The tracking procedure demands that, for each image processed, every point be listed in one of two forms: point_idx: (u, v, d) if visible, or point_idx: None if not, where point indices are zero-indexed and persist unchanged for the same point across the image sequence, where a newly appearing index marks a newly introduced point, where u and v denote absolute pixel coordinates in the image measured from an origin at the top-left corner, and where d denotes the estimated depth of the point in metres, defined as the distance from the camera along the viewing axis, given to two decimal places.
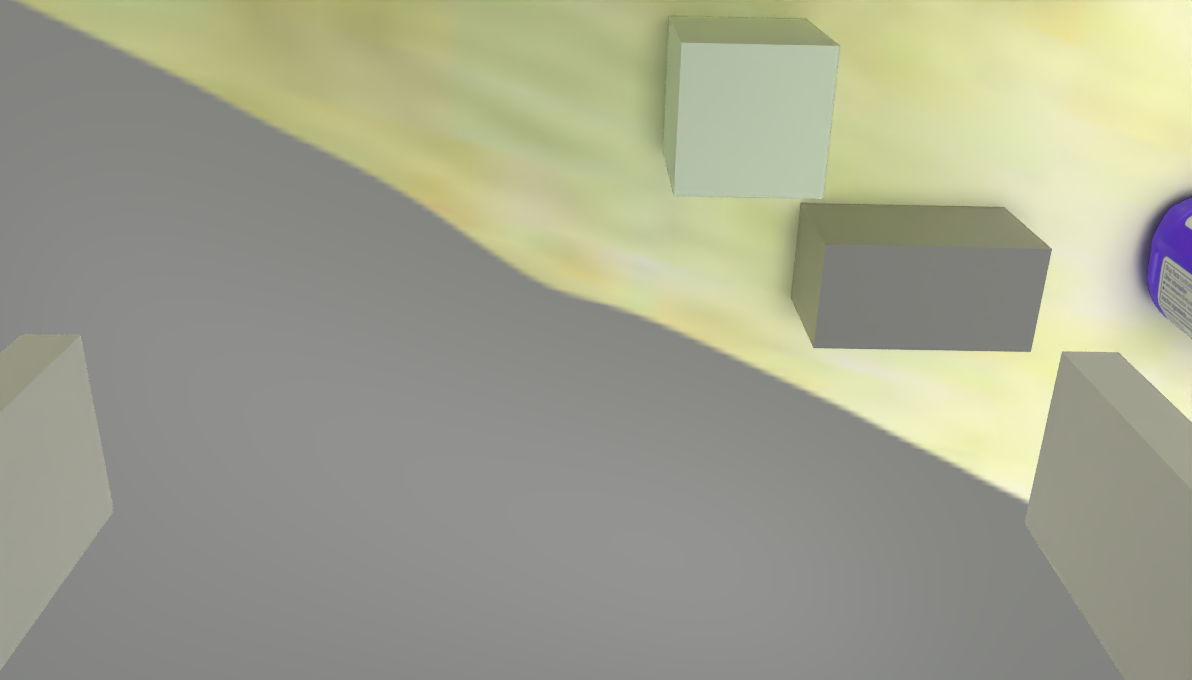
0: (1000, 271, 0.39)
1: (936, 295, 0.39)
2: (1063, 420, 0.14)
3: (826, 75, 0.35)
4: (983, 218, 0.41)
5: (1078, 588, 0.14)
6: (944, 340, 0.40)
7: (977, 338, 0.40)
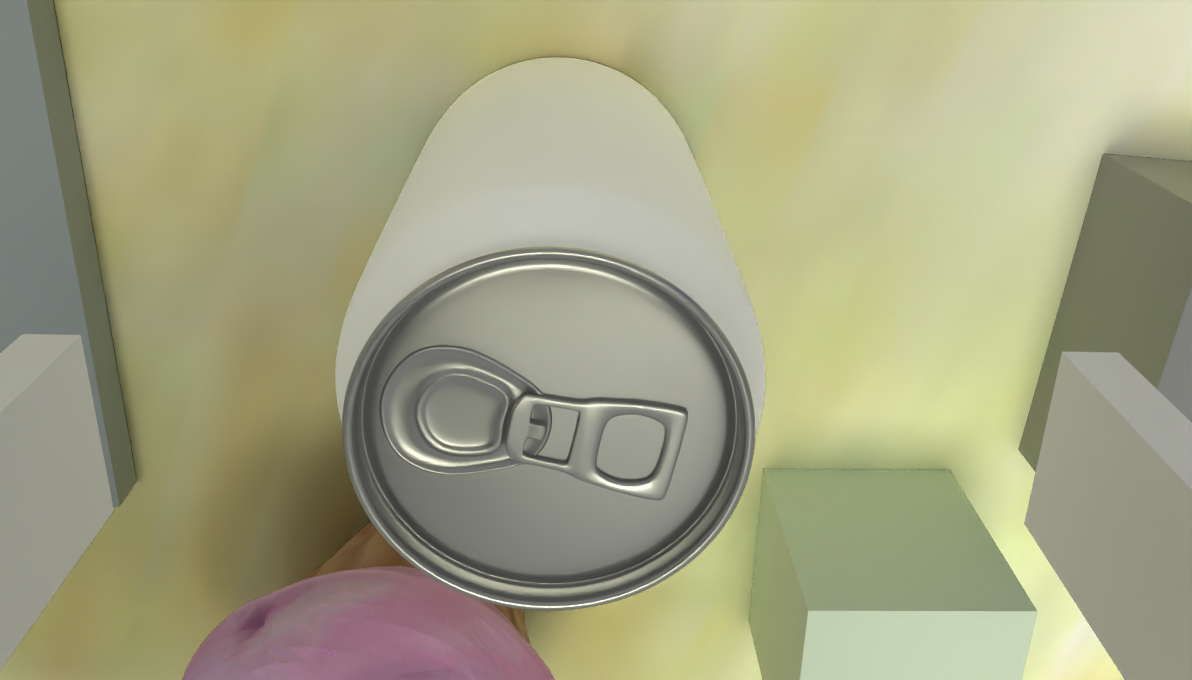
0: None
1: None
2: (1062, 420, 0.14)
3: (849, 622, 0.24)
4: (1116, 226, 0.25)
5: (1078, 588, 0.14)
6: None
7: None
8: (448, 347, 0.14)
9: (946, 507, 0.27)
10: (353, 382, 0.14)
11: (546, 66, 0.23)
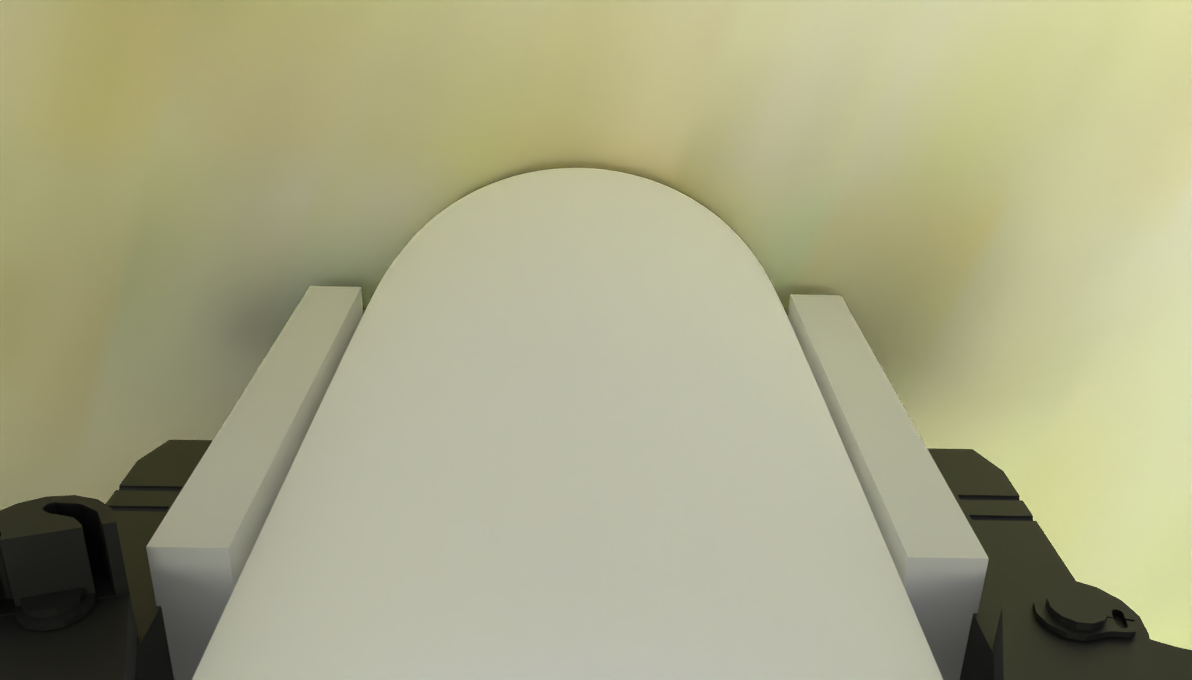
0: None
1: None
2: None
3: None
4: None
5: None
6: None
7: None
8: None
9: None
10: None
11: (559, 192, 0.14)
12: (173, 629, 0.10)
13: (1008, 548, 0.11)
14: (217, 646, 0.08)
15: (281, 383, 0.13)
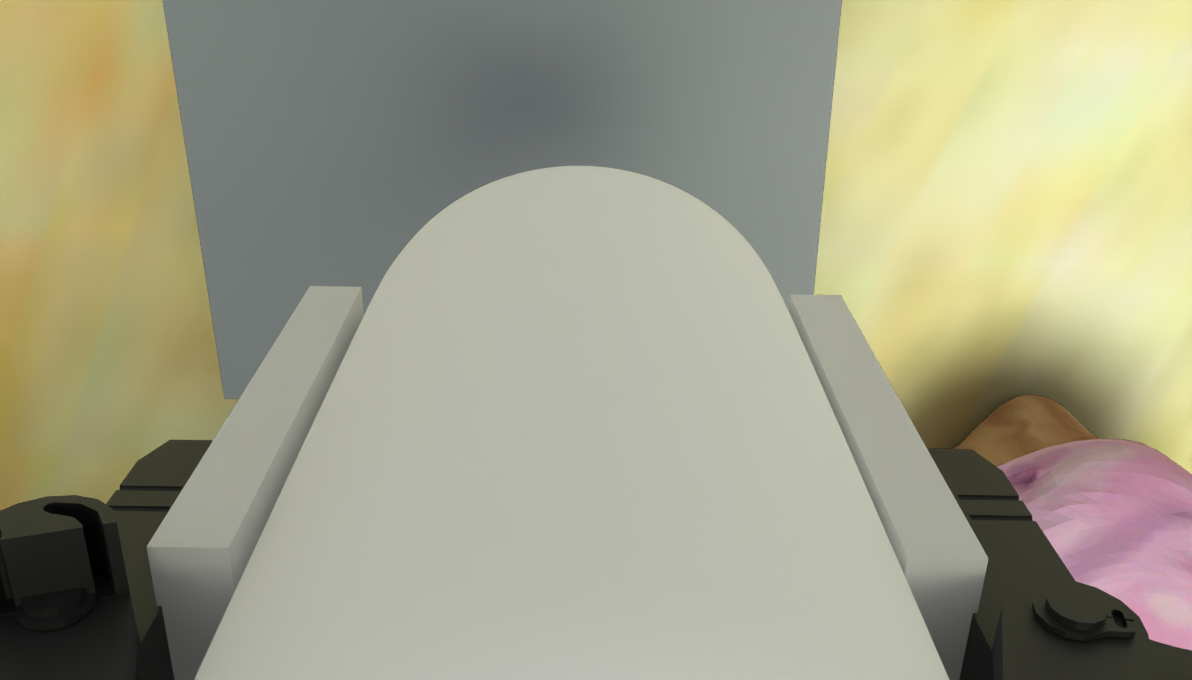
0: None
1: None
2: None
3: None
4: None
5: None
6: None
7: None
8: None
9: None
10: None
11: (562, 189, 0.14)
12: (173, 629, 0.10)
13: (1008, 548, 0.11)
14: (220, 644, 0.08)
15: (281, 383, 0.13)
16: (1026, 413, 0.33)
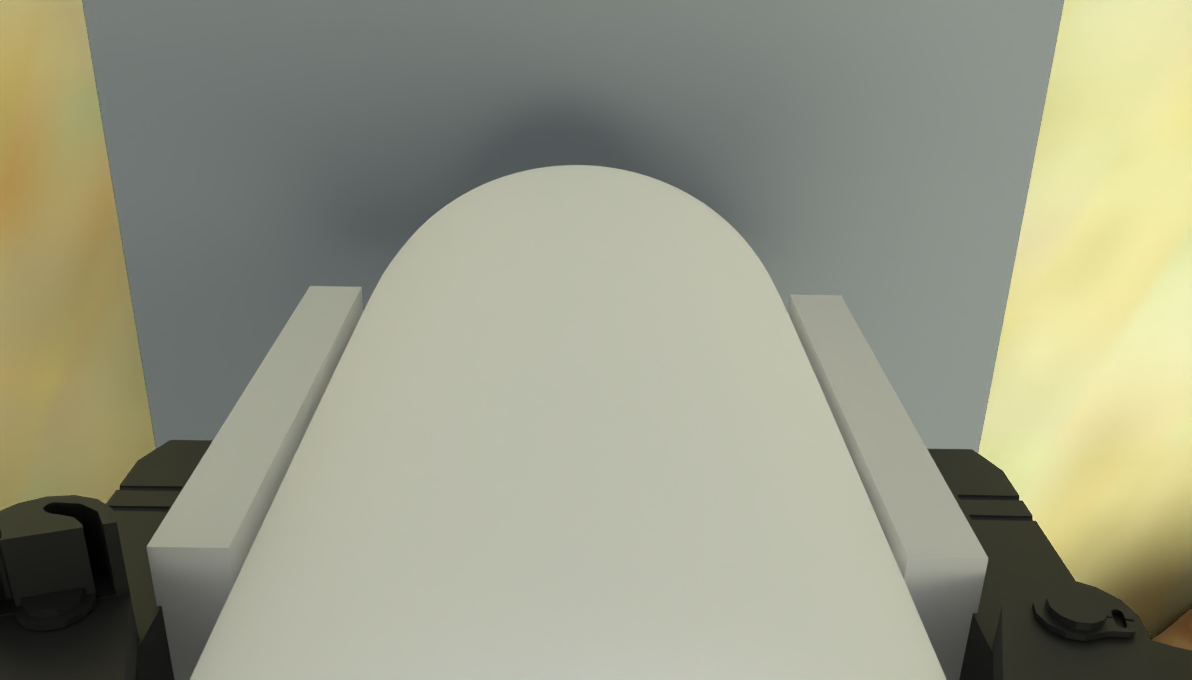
0: None
1: None
2: None
3: None
4: None
5: None
6: None
7: None
8: None
9: None
10: None
11: (560, 189, 0.14)
12: (173, 629, 0.10)
13: (1008, 548, 0.11)
14: (216, 643, 0.08)
15: (282, 383, 0.13)
16: None
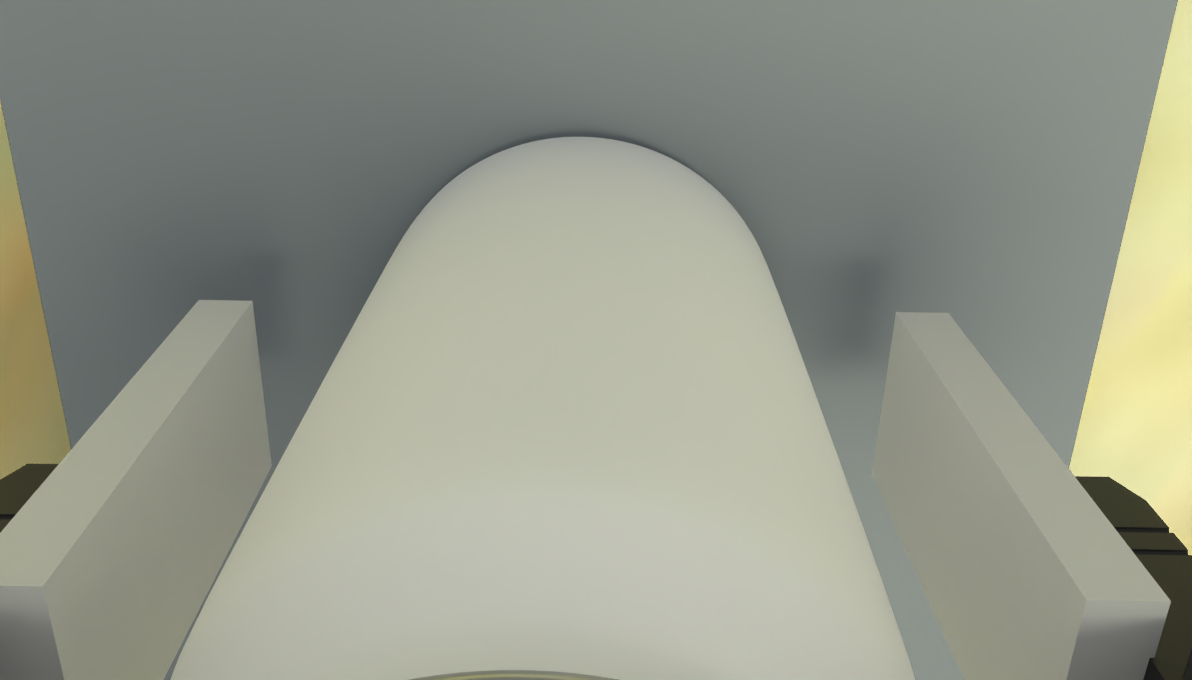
0: None
1: None
2: (895, 376, 0.15)
3: None
4: None
5: (904, 529, 0.15)
6: None
7: None
8: None
9: None
10: None
11: (561, 156, 0.16)
12: None
13: (1171, 585, 0.11)
14: (256, 511, 0.10)
15: (143, 405, 0.13)
16: None
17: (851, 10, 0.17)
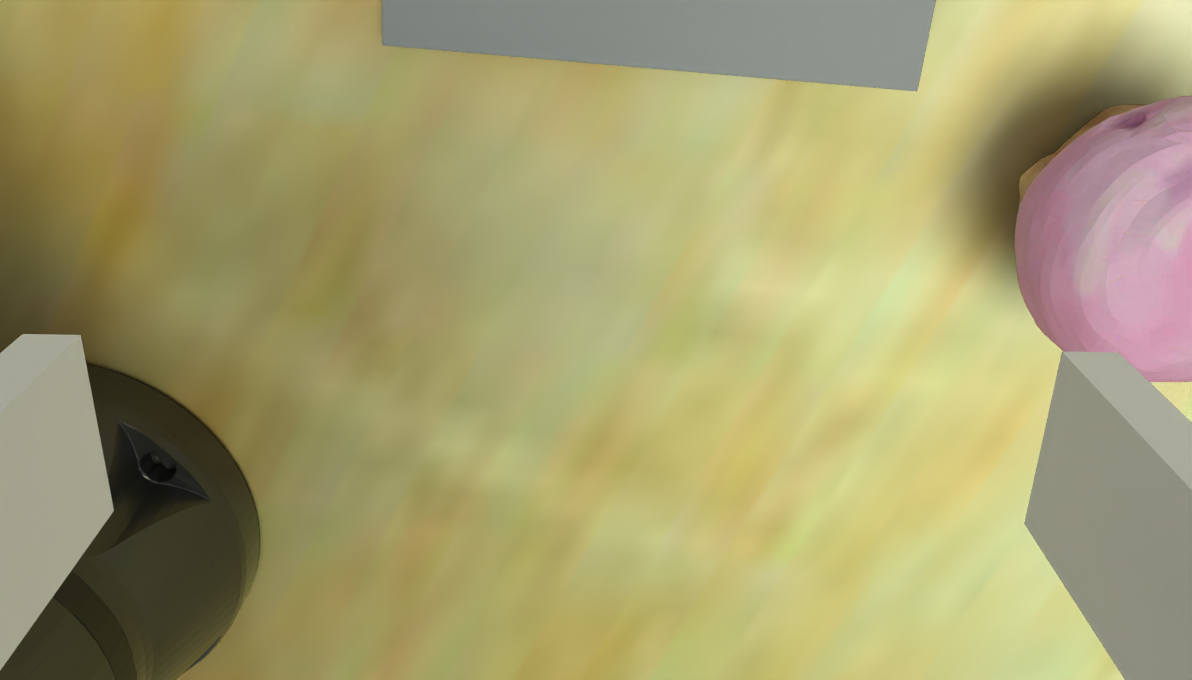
0: None
1: None
2: (1063, 419, 0.14)
3: None
4: None
5: (1078, 588, 0.14)
6: None
7: None
8: None
9: None
10: None
11: None
12: None
13: None
14: None
15: None
16: (1122, 111, 0.36)
17: None
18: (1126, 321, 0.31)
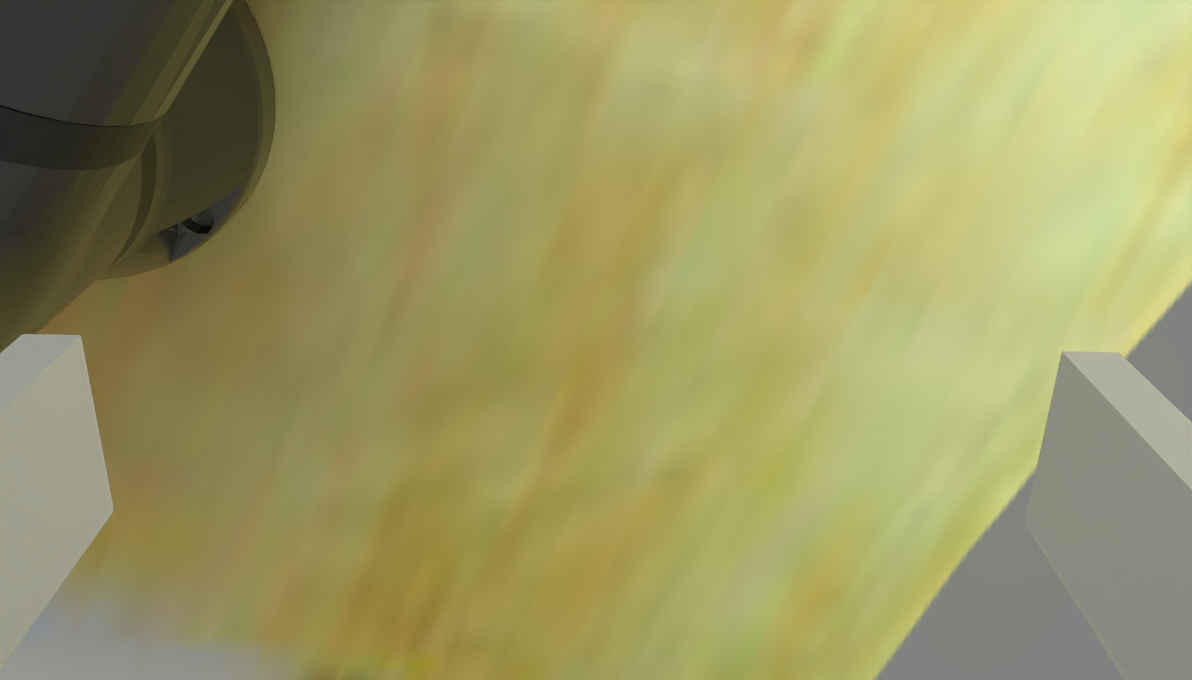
0: None
1: None
2: (1062, 420, 0.14)
3: None
4: None
5: (1078, 588, 0.14)
6: None
7: None
8: None
9: None
10: None
11: None
12: None
13: None
14: None
15: None
16: None
17: None
18: None
